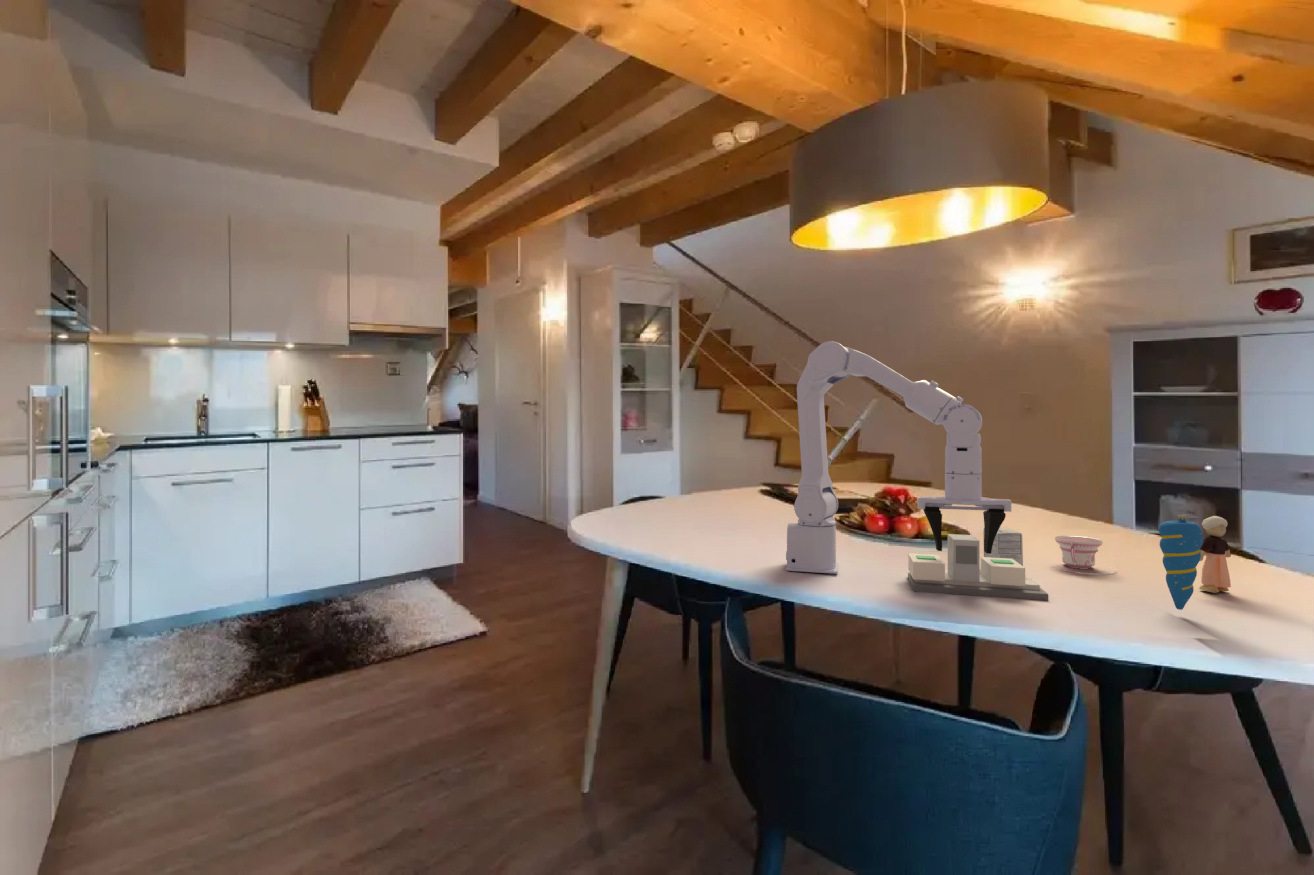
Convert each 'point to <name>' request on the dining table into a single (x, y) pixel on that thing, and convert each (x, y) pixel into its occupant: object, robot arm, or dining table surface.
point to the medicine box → (1007, 545)
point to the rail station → (994, 581)
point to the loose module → (963, 558)
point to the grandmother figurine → (1215, 556)
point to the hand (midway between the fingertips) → (963, 551)
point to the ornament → (1180, 557)
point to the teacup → (1079, 552)
